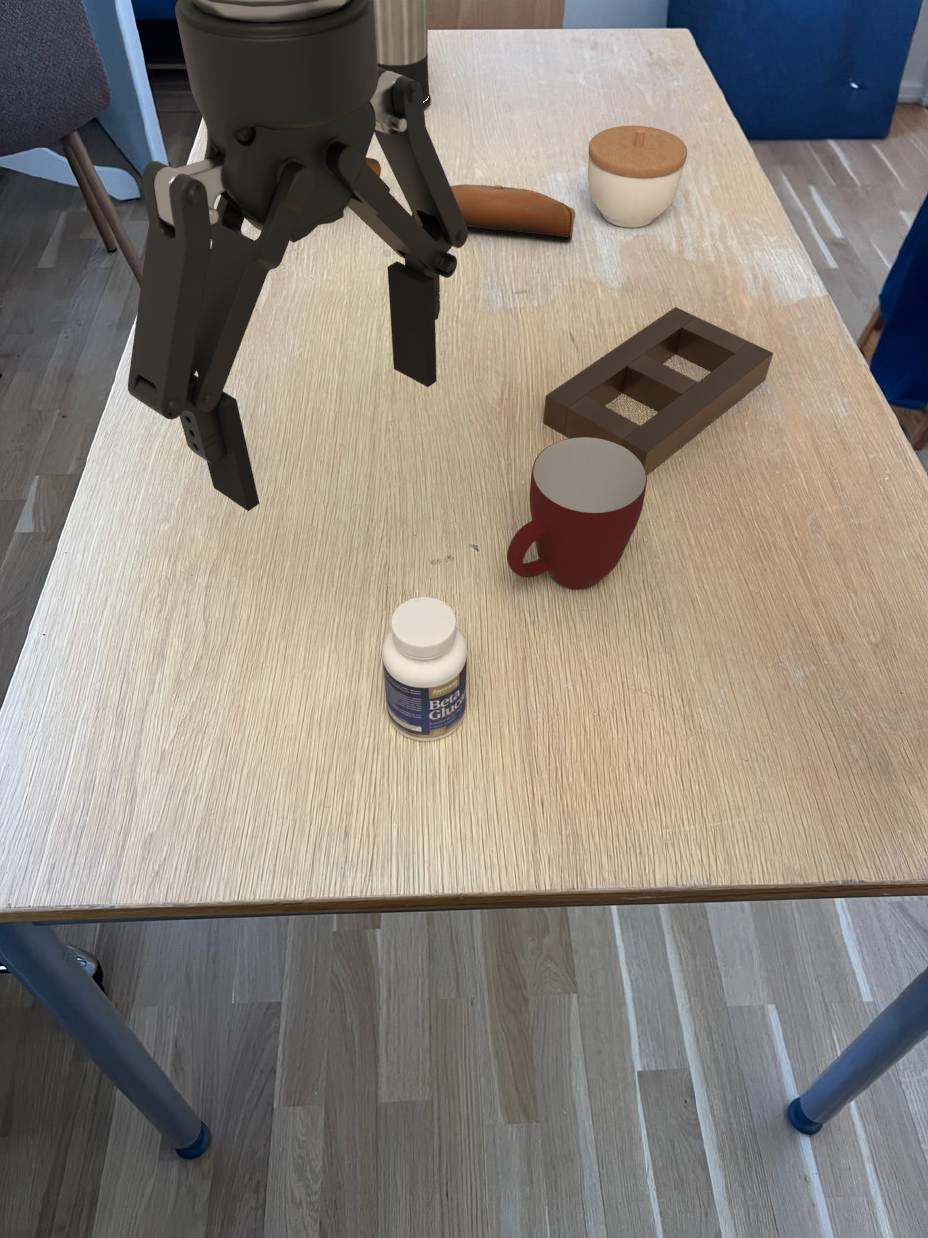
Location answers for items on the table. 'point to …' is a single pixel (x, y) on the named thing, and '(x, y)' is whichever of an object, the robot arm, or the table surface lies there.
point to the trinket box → (634, 173)
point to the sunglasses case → (513, 210)
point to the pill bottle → (425, 670)
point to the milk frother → (403, 39)
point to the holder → (659, 386)
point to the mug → (580, 511)
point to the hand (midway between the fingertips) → (331, 432)
